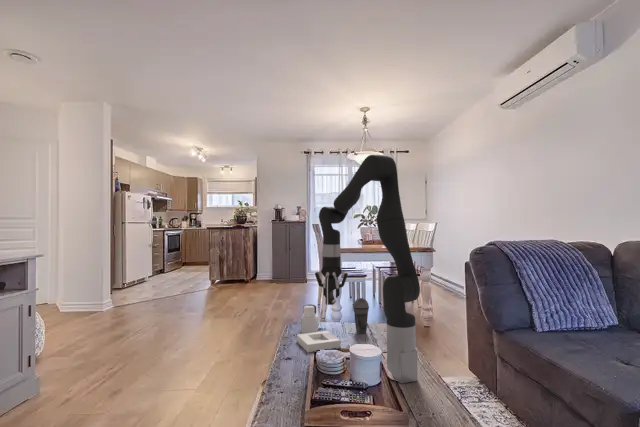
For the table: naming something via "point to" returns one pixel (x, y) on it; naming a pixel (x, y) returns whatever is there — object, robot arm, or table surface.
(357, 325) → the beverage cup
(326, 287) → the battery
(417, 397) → the table surface
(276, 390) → the table surface
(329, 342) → the charging dock
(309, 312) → the medicine bottle
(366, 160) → the robot arm
